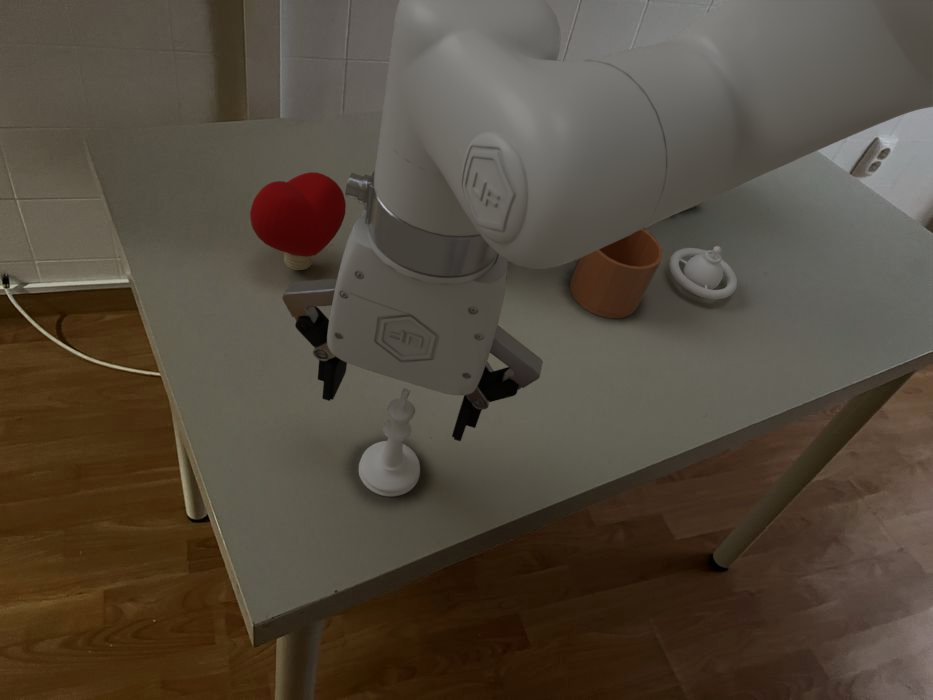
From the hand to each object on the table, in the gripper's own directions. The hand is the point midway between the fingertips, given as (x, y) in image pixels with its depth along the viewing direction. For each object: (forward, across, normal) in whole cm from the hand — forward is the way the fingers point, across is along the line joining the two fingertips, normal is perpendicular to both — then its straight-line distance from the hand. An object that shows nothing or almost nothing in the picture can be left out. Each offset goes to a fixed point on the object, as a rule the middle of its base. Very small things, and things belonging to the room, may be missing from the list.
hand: (397, 405), depth 52 cm
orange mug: (+8, +16, +32) cm, 36 cm away
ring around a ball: (+8, +27, +36) cm, 45 cm away
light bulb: (+9, -15, +19) cm, 26 cm away
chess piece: (+8, 0, 0) cm, 8 cm away
